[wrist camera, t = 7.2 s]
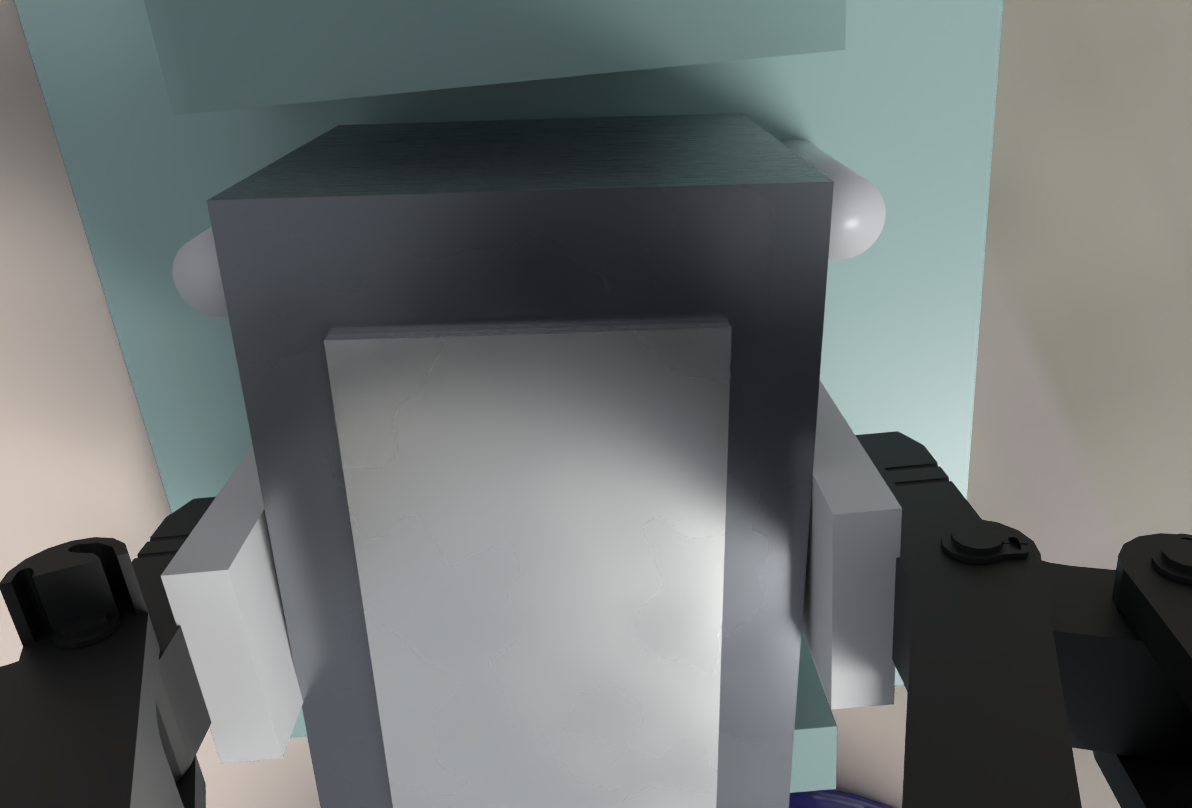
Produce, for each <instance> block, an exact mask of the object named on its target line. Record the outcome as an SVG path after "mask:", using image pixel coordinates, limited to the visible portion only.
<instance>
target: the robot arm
mask: <svg viewBox="0 0 1192 808" xmlns="http://www.w3.org/2000/svg"><path fill="white" fill-rule="evenodd" d="M0 590H1V593H2V595H3V598H4V600H5V603H6V605H7V608H8V610H9V613H10V615H11V617H12V620H13V622H14V625H15V627H16V630H17V632H18V635H19V637H20V640H21V642H22V645H23V649H22V652H21V656H20V659H19V661H18V662H15V663H12V664H9V665H5V666H2V667H0V808H206V790H205V781H204V778H203V775H202V772H201V769H200V766H199V763H198V760H197V757H196V753H197V751H198V749H199V747H200V745H201V743H202V741H203V739H204V737H205V735H206V733H207V731H208V729H209V728H210V731H211V734H212V737H213V740H214V743H215V746H216V749H217V753H218V756H219V759H220V762H221V763H233V762H244V761H255V760H266V759H278V758H283V755H284V752H285V750H286V747H287V744H288V742H289V739H290V736H291V734H292V731H293V728H294V726H295V723H296V721H297V718H298V715H299V713H300V710H301V707H302V705H303V699H302V696H301V692H300V688H299V684H298V681H297V677H296V673H295V668H294V663H293V657H292V652H291V647H290V641H289V636H288V631H287V625H286V620H285V615H284V609H283V604H282V599H281V593H280V588H279V583H278V578H277V572H276V567H275V562H274V556H273V551H272V546H271V540H270V535H269V530H268V524H267V519H266V514H265V508H264V503H263V498H262V493H261V487H260V482H259V477H258V471H257V466H256V461H255V455H254V450H253V445H252V446H251V448H250V449H249V451H248V452H247V454H246V455H245V456H244V458H243V459H242V461H241V462H240V464H239V465H238V466H237V468H236V469H235V471H234V472H233V473H232V475H231V476H230V478H229V479H228V481H227V482H226V483H225V485H224V486H223V488H222V489H221V491H220V492H219V493H218V495H217V496H216V497H207V498H196V499H192V500H191V501H189V502H188V503H186V504H185V505H183V506H182V507H180V508H179V509H178V510H176V511H175V512H173V513H172V514H170V515H169V516H167V517H166V518H165V519H164V521H163V522H162V523H161V525H160V526H159V527H158V528H157V530H156V531H155V532H154V534H153V535H152V536H151V537H150V542H147V543H146V544H145V545H144V547H143V548H142V549H141V550H140V552H139V553H138V558H135V559H134V560H133V561H132V562H131V560H130V557H129V554H128V551H127V548H126V545H125V543H123V542H121V541H118V540H116V539H114V538H99V537H93V538H87V539H81V540H74V541H70V542H67V543H64V544H60V545H57V546H54V547H51V548H48V549H46V550H44V551H42V552H40V553H37V554H35V555H33V556H31V557H29V558H27V559H25V560H24V561H22V562H21V563H20V564H18V565H17V566H16V567H14V568H13V569H11V570H10V571H9V572H7V574H6V575H5V577H4V578H3V579H2V581H1V582H0ZM802 630H803V633H804V635H805V638H806V641H807V644H808V646H809V649H810V652H811V655H812V657H813V660H814V663H815V666H816V669H817V671H818V674H819V677H820V680H821V682H822V685H823V688H824V691H825V693H826V696H827V699H828V702H829V704H830V707H831V710H832V709H844V708H855V707H866V706H878V705H889V704H894V687H895V667H896V669H897V671H898V673H899V675H900V677H901V679H902V681H903V683H904V685H905V687H906V690H907V692H908V696H907V717H906V737H905V758H904V780H903V801H902V808H1082V807H1081V800H1080V794H1079V788H1078V782H1077V776H1076V770H1075V764H1074V757H1073V751H1072V747H1073V748H1080V749H1086V750H1093V754H1094V757H1095V760H1096V762H1097V763H1098V765H1099V767H1100V769H1101V771H1102V773H1103V775H1104V776H1105V778H1106V780H1107V782H1108V784H1109V786H1110V788H1111V789H1112V791H1113V793H1114V795H1115V797H1116V799H1117V801H1118V803H1119V804H1120V806H1121V808H1192V535H1188V534H1162V533H1160V534H1153V535H1146V536H1139V537H1137V538H1135V539H1133V540H1131V541H1129V542H1127V543H1125V544H1124V545H1123V547H1122V549H1121V551H1120V553H1119V555H1118V562H1117V568H1116V570H1108V569H1098V568H1087V567H1076V566H1068V565H1061V564H1055V563H1049V562H1045V561H1042V560H1041V555H1040V552H1039V550H1038V549H1037V547H1036V545H1035V543H1034V541H1032V540H1031V539H1030V538H1028V537H1027V536H1025V535H1024V534H1023V533H1021V532H1020V531H1019V530H1016V529H1013V528H1011V527H1008V526H1005V525H1003V524H1000V523H997V522H992V521H986V520H982V519H981V518H980V517H979V515H978V514H977V513H976V512H975V510H974V509H973V508H972V506H971V505H970V504H969V503H968V501H967V500H966V499H965V497H964V496H963V495H962V494H961V492H960V491H959V490H958V488H957V487H956V486H955V485H954V483H953V482H952V481H949V477H948V476H947V474H946V473H945V472H944V470H943V469H942V468H941V467H938V463H937V461H936V460H935V459H934V458H933V456H932V455H931V454H930V452H929V451H928V450H927V449H926V447H925V446H924V445H923V444H921V443H919V442H917V441H915V440H913V439H911V438H910V437H908V436H906V435H904V434H902V433H900V432H898V431H895V432H884V433H873V434H862V435H855V434H854V433H853V431H852V429H851V428H850V426H849V425H848V423H847V422H846V420H845V418H844V417H843V415H842V414H841V412H840V411H839V409H838V408H837V406H836V404H835V403H834V401H833V400H832V398H831V397H830V395H829V393H828V392H827V390H826V389H825V387H824V386H823V384H822V383H821V381H819V395H818V409H817V423H816V437H815V451H814V465H813V479H812V492H811V506H810V520H809V534H808V548H807V562H806V576H805V590H804V603H803V617H802Z"/></svg>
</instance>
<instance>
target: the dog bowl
mask: <svg viewBox="0 0 1192 808" xmlns="http://www.w3.org/2000/svg"><path fill="white" fill-rule="evenodd" d="M789 808H890V807H888V806H885V805H882V804H879V803H876V802H873V801H870V800H867V799H864V798H861V797H858V796H854V795H850V794H846V793H842V792H837V791H832V790H817V791H806V792H794V793H790V798H789Z"/></svg>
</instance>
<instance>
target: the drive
mask: <svg viewBox="0 0 1192 808" xmlns="http://www.w3.org/2000/svg"><path fill="white" fill-rule="evenodd" d="M833 187H834V181H833V180H831V179H830V178H829V177H827V176H826V175H825V174H823V173H822V172H821V171H819V170H818V169H817V168H815V167H814V166H812V165H811V164H810V163H808V162H807V161H806V160H804V159H803V158H802V157H800V156H799V155H798V154H796V153H795V152H794V151H792V150H791V149H789V148H788V147H787V146H785V145H784V144H783V143H781V142H780V141H779V140H777V139H776V138H775V137H773V136H772V135H771V134H769V133H768V132H766V131H765V130H764V129H762V128H761V127H760V126H758V125H757V124H756V123H754V122H753V121H752V120H750V119H749V118H748V117H746V116H745V115H744V114H742V113H727V114H693V115H660V116H626V117H592V118H559V119H525V120H492V121H458V122H425V123H391V124H357V125H338V126H336V127H334V128H332V129H331V130H329V131H327V132H325V133H324V134H322V135H320V136H318V137H317V138H315V139H313V140H311V141H310V142H308V143H306V144H304V145H303V146H301V147H299V148H297V149H296V150H294V151H292V152H290V153H289V154H287V155H285V156H283V157H282V158H280V159H278V160H276V161H275V162H273V163H271V164H269V165H268V166H266V167H264V168H262V169H261V170H259V171H257V172H255V173H254V174H252V175H250V176H248V177H247V178H245V179H243V180H241V181H240V182H238V183H236V184H234V185H233V186H231V187H229V188H227V189H226V190H224V191H222V192H220V193H219V194H217V195H215V196H213V197H212V198H210V199H208V200H207V206H208V211H209V216H210V222H211V227H212V232H213V238H214V243H215V248H216V254H217V259H218V264H219V269H220V275H221V280H222V285H223V291H224V296H225V301H226V307H227V312H228V317H229V323H230V328H231V333H232V338H233V344H234V349H235V354H236V360H237V365H238V370H239V376H240V381H241V386H242V392H243V397H244V402H245V408H246V413H247V418H248V423H249V429H250V434H251V439H252V445H253V450H254V455H255V461H256V466H257V471H258V477H259V482H260V487H261V493H262V498H263V503H264V508H265V514H266V519H267V524H268V530H269V535H270V540H271V546H272V551H273V556H274V562H275V567H276V572H277V578H278V583H279V588H280V593H281V599H282V604H283V609H284V615H285V620H286V625H287V631H288V636H289V641H290V647H291V652H292V657H293V663H294V668H295V673H296V677H297V681H298V684H299V688H300V692H301V696H302V699H303V705H302V710H303V716H304V721H305V726H306V732H307V737H308V742H309V748H310V753H311V758H312V763H313V769H314V774H315V779H316V785H317V790H318V795H319V801H320V806H321V808H789V798H790V784H791V770H792V756H793V742H794V728H795V714H796V701H797V687H798V673H799V659H800V645H801V631H802V617H803V603H804V590H805V576H806V562H807V548H808V534H809V520H810V506H811V492H812V479H813V465H814V451H815V437H816V423H817V409H818V395H819V381H820V368H821V354H822V340H823V326H824V312H825V298H826V284H827V270H828V257H829V243H830V229H831V215H832V201H833Z"/></svg>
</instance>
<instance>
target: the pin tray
mask: <svg viewBox="0 0 1192 808" xmlns="http://www.w3.org/2000/svg"><path fill="white" fill-rule="evenodd" d="M14 2H15V6H16V9H17V12H18V15H19V19H20V22H21V25H22V28H23V32H24V35H25V38H26V41H27V45H28V48H29V51H30V54H31V58H32V61H33V64H34V67H35V70H36V74H37V77H38V80H39V83H40V87H41V90H42V93H43V96H44V100H45V103H46V106H47V109H48V113H49V116H50V119H51V122H52V126H53V129H54V132H55V135H56V139H57V142H58V145H59V148H60V152H61V155H62V158H63V161H64V165H65V168H66V171H67V174H68V178H69V181H70V184H71V187H72V191H73V194H74V197H75V200H76V204H77V207H78V210H79V213H80V217H81V220H82V223H83V226H84V230H85V233H86V236H87V239H88V243H89V246H90V249H91V252H92V256H93V259H94V262H95V265H96V269H97V272H98V275H99V278H100V282H101V285H102V288H103V291H104V295H105V298H106V301H107V304H108V307H109V311H110V314H111V317H112V320H113V324H114V327H115V330H116V333H117V337H118V340H119V343H120V346H121V350H122V353H123V356H124V359H125V363H126V366H127V369H128V372H129V376H130V379H131V382H132V385H133V389H134V392H135V395H136V398H137V402H138V405H139V408H140V411H141V415H142V418H143V421H144V424H145V428H146V431H147V434H148V437H149V441H150V444H151V447H152V450H153V454H154V457H155V460H156V463H157V467H158V470H159V473H160V476H161V480H162V483H163V486H164V489H165V493H166V496H167V499H168V502H169V506H170V509H171V512H172V513H173V512H175V511H176V510H178V509H179V508H180V507H182V506H183V505H185V504H186V503H188V502H189V501H191V500H192V499H196V498H207V497H216V496H217V495H218V493H219V492H220V491H221V489H222V488H223V486H224V485H225V483H226V482H227V481H228V479H229V478H230V476H231V475H232V473H233V472H234V471H235V469H236V468H237V466H238V465H239V464H240V462H241V461H242V459H243V458H244V456H245V455H246V454H247V452H248V451H249V449H250V448H251V446H252V439H251V434H250V429H249V423H248V418H247V413H246V408H245V402H244V397H243V392H242V386H241V381H240V376H239V370H238V365H237V360H236V354H235V349H234V344H233V338H232V333H231V328H230V323H229V317H228V312H227V307H226V301H225V296H224V291H223V285H222V280H221V275H220V269H219V264H218V259H217V254H216V248H215V243H214V238H213V232H212V227H211V222H210V216H209V211H208V206H207V200H208V199H210V198H212V197H213V196H215V195H217V194H219V193H220V192H222V191H224V190H226V189H227V188H229V187H231V186H233V185H234V184H236V183H238V182H240V181H241V180H243V179H245V178H247V177H248V176H250V175H252V174H254V173H255V172H257V171H259V170H261V169H262V168H264V167H266V166H268V165H269V164H271V163H273V162H275V161H276V160H278V159H280V158H282V157H283V156H285V155H287V154H289V153H290V152H292V151H294V150H296V149H297V148H299V147H301V146H303V145H304V144H306V143H308V142H310V141H311V140H313V139H315V138H317V137H318V136H320V135H322V134H324V133H325V132H327V131H329V130H331V129H332V128H334V127H336V126H338V125H357V124H391V123H425V122H458V121H492V120H525V119H559V118H592V117H626V116H660V115H693V114H727V113H742V114H744V115H745V116H746V117H748V118H749V119H750V120H752V121H753V122H754V123H756V124H757V125H758V126H760V127H761V128H762V129H764V130H765V131H766V132H768V133H769V134H771V135H772V136H773V137H775V138H776V139H777V140H779V141H780V142H781V143H783V144H784V145H785V146H787V147H788V148H789V149H791V150H792V151H794V152H795V153H796V154H798V155H799V156H800V157H802V158H803V159H804V160H806V161H807V162H808V163H810V164H811V165H812V166H814V167H815V168H817V169H818V170H819V171H821V172H822V173H823V174H825V175H826V176H827V177H829V178H830V179H831V180H833V181H834V187H833V201H832V215H831V229H830V243H829V257H828V270H827V284H826V298H825V312H824V326H823V340H822V354H821V368H820V381H821V383H822V384H823V386H824V387H825V389H826V390H827V392H828V393H829V395H830V397H831V398H832V400H833V401H834V403H835V404H836V406H837V408H838V409H839V411H840V412H841V414H842V415H843V417H844V418H845V420H846V422H847V423H848V425H849V426H850V428H851V429H852V431H853V433H854V434H855V435H862V434H873V433H884V432H895V431H898V432H900V433H902V434H904V435H906V436H908V437H910V438H911V439H913V440H915V441H917V442H919V443H921V444H923V445H924V446H925V447H926V449H927V450H928V451H929V452H930V454H931V455H932V456H933V458H934V459H935V460H936V461H937V463H938V467H941V468H942V469H943V470H944V472H945V473H946V474H947V476H948V477H949V481H952V482H953V483H954V485H955V486H956V487H957V488H958V490H959V491H960V492H961V494H962V495H963V496H964V497H965V499H966V500H967V488H968V474H969V460H970V447H971V433H972V419H973V406H974V392H975V378H976V365H977V351H978V337H979V324H980V310H981V296H982V283H983V269H984V255H985V241H986V228H987V214H988V200H989V187H990V173H991V159H992V146H993V132H994V118H995V105H996V91H997V77H998V64H999V50H1000V36H1001V23H1002V9H1003V0H14ZM895 685H904V683H903V681H902V679H901V677H900V675H899V673H898V671H897V669H896V667H895ZM303 736H307V732H306V726H305V721H304V716H303V710H302V707H301V710H300V713H299V715H298V718H297V721H296V723H295V726H294V728H293V731H292V734H291V736H290V738H292V737H303ZM836 754H837V725H836V723H835V720H834V717H833V714H832V711H831V708H830V706H829V703H828V700H827V697H826V694H825V692H824V688H823V685H822V682H821V680H820V677H819V674H818V671H817V669H816V666H815V663H814V660H813V657H812V655H811V652H810V649H809V646H808V644H807V641H806V638H805V635H804V633H803V630H802V631H801V645H800V659H799V673H798V687H797V701H796V714H795V728H794V742H793V756H792V770H791V784H790V793H794V792H806V791H817V790H829V789H836Z"/></svg>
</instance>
